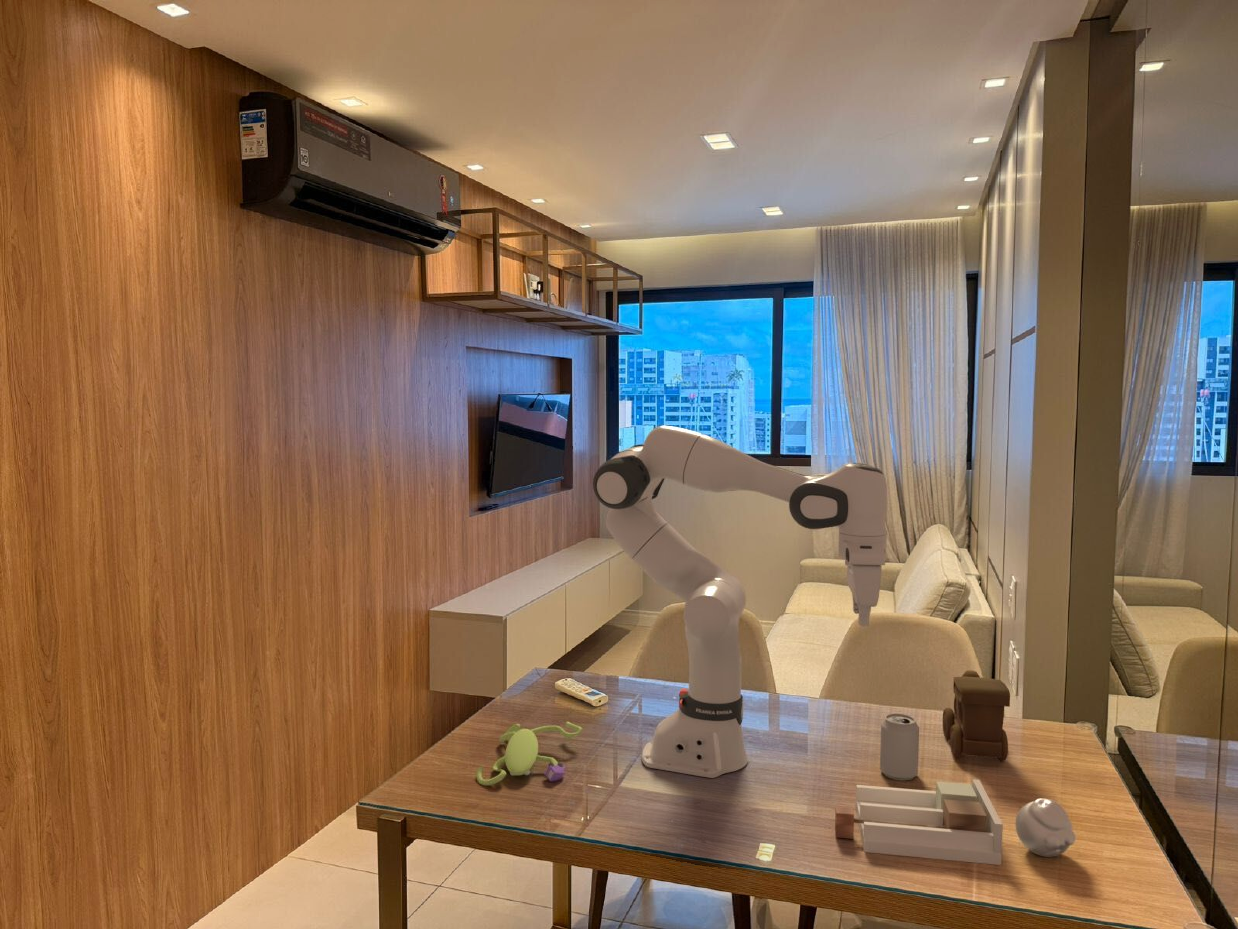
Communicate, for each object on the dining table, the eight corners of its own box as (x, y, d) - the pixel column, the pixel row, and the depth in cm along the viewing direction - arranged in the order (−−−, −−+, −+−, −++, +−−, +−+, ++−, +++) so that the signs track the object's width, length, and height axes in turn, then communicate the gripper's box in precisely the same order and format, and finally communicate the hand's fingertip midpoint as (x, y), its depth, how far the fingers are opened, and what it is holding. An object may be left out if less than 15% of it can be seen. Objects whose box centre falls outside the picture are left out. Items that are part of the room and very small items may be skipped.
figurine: (586, 741, 196) (586, 717, 195) (560, 794, 169) (560, 767, 169) (507, 736, 198) (507, 712, 198) (470, 788, 172) (469, 760, 172)
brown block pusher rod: (836, 840, 150) (837, 803, 150) (834, 826, 155) (835, 790, 155) (985, 854, 146) (986, 816, 146) (978, 839, 151) (979, 802, 150)
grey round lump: (1014, 862, 144) (1017, 804, 144) (1014, 836, 153) (1016, 781, 152) (1075, 874, 141) (1078, 815, 140) (1071, 846, 149) (1073, 791, 149)
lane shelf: (864, 852, 147) (865, 812, 147) (855, 805, 164) (856, 770, 163) (1001, 865, 143) (1002, 824, 143) (977, 816, 160) (979, 779, 160)
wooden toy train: (1012, 771, 179) (1015, 693, 178) (954, 766, 182) (956, 689, 180) (991, 735, 199) (994, 664, 198) (939, 730, 201) (941, 661, 200)
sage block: (940, 820, 154) (941, 793, 154) (935, 807, 159) (936, 781, 159) (975, 823, 153) (976, 796, 153) (969, 810, 158) (970, 784, 158)
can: (920, 784, 174) (922, 726, 173) (881, 780, 175) (883, 723, 174) (915, 768, 181) (916, 712, 180) (878, 765, 182) (879, 709, 181)
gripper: (840, 538, 176) (839, 605, 177) (850, 557, 156) (849, 632, 157) (872, 539, 175) (871, 607, 176) (886, 558, 155) (885, 633, 156)
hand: (860, 619), depth 166 cm, fingers open, 8 cm apart
